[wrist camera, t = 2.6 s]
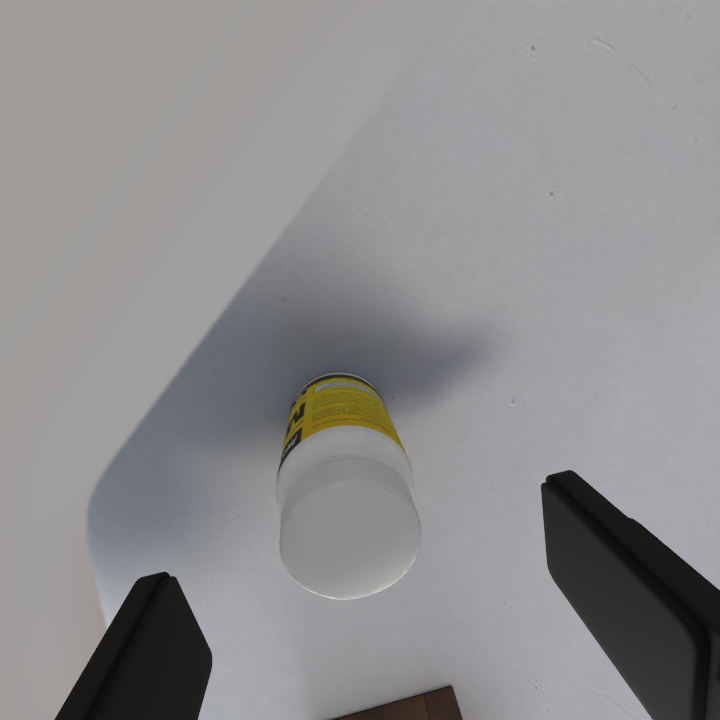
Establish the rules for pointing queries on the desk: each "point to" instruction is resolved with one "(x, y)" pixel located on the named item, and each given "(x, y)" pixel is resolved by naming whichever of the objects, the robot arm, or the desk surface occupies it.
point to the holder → (416, 708)
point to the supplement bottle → (345, 491)
